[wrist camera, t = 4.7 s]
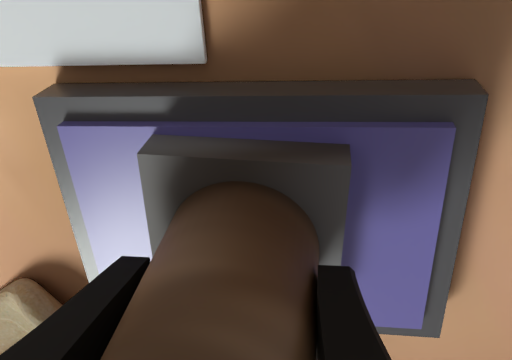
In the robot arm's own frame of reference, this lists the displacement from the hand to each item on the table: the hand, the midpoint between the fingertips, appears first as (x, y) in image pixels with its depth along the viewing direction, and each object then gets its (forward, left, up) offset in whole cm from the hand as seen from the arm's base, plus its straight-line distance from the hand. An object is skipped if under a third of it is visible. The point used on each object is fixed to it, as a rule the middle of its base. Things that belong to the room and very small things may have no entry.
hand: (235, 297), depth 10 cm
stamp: (0, 0, -2) cm, 2 cm away
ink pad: (0, 0, -3) cm, 3 cm away
